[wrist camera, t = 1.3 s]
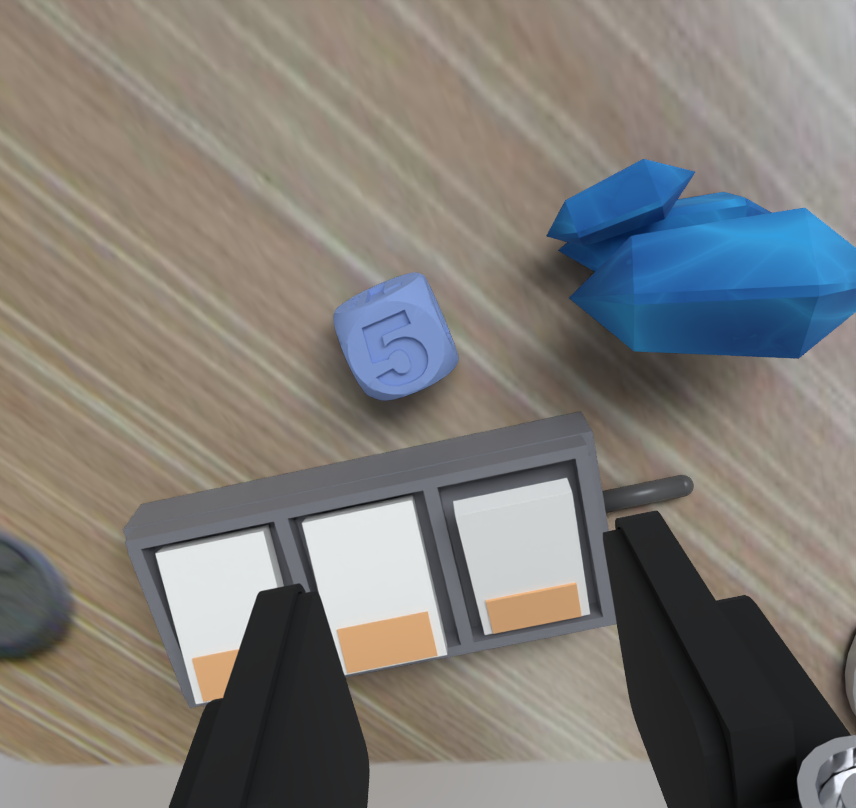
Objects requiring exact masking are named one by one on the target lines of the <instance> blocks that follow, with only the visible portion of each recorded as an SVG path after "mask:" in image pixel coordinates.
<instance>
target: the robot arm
mask: <svg viewBox="0 0 856 808" xmlns="http://www.w3.org/2000/svg"><path fill="white" fill-rule="evenodd" d="M615 528H616V530H612V531H607V532H603V544H604V550H605V556H606V562H607V568H608V574H609V580H610V586H611V592H612V598H613V604H614V610H615V616H616V622H617V628H618V634H619V640H620V646H621V652H622V658H623V664H624V670H625V676H626V682H627V688H628V694H629V699H630V703H631V707H632V711H633V715H634V718H635V721H636V724H637V727H638V730H639V732H640V735H641V738H642V740H643V743H644V746H645V748H646V751H647V754H648V756H649V759H650V762H651V764H652V767H653V770H654V772H655V774H656V777H657V780H658V783H659V785H660V788H661V791H662V793H663V796H664V799H665V801H666V804H667V807H668V808H856V735H852V736H851V735H850V733H849V732H848V730H847V729H846V728H845V726H844V725H843V723H842V722H841V721H840V719H839V718H838V717H837V715H836V714H835V712H834V711H833V710H832V708H831V707H830V705H829V704H828V703H827V701H826V700H825V699H824V697H823V696H822V694H821V693H820V692H819V690H818V689H817V687H816V686H815V685H814V683H813V682H812V681H811V679H810V678H809V676H808V675H807V674H806V672H805V671H804V669H803V668H802V667H801V665H800V664H799V663H798V661H797V660H796V658H795V657H794V656H793V654H792V653H791V651H790V650H789V649H788V647H787V646H786V645H785V643H784V642H783V640H782V639H781V638H780V636H779V635H778V633H777V632H776V631H775V629H774V628H773V627H772V625H771V624H770V622H769V621H768V620H767V618H766V617H765V615H764V614H763V613H762V611H761V610H760V609H759V607H758V606H757V604H756V603H755V602H754V601H753V600H752V599H751V598H750V597H749V596H746V595H743V596H737V597H732V598H727V599H722V600H717V601H716V600H715V599H714V597H713V595H712V594H711V592H710V591H709V589H708V588H707V586H706V584H705V583H704V581H703V580H702V578H701V577H700V575H699V574H698V572H697V570H696V569H695V567H694V566H693V564H692V563H691V561H690V560H689V558H688V556H687V555H686V553H685V552H684V550H683V549H682V547H681V546H680V544H679V542H678V541H677V539H676V538H675V536H674V535H673V533H672V532H671V530H670V528H669V527H668V525H667V524H666V522H665V521H664V519H663V517H662V516H661V514H660V513H659V512H658V511H651V512H646V513H641V514H636V515H631V516H627V517H622V518H617V519H616V520H615ZM845 685H846V694H847V697H848V700H849V703H850V707H851V710H852V711H853V713H854V714H855V716H856V635H855V638H854V640H853V643H852V645H851V648H850V650H849V653H848V658H847V664H846V669H845ZM368 788H369V759H368V752H367V747H366V744H365V740H364V737H363V734H362V730H361V727H360V724H359V721H358V717H357V714H356V711H355V708H354V704H353V701H352V698H351V695H350V691H349V688H348V685H347V682H346V678H345V675H344V672H343V668H342V665H341V662H340V659H339V655H338V652H337V649H336V646H335V642H334V639H333V636H332V633H331V629H330V626H329V623H328V620H327V616H326V613H325V610H324V607H323V603H322V600H321V597H320V595H319V593H318V592H317V591H312V592H307V593H306V591H305V589H304V588H303V586H302V585H301V584H300V583H298V584H293V585H288V586H283V587H278V588H273V589H268V590H263V591H260V592H259V593H258V595H257V597H256V600H255V603H254V606H253V609H252V612H251V615H250V618H249V621H248V624H247V627H246V630H245V633H244V636H243V639H242V642H241V645H240V648H239V651H238V654H237V657H236V660H235V663H234V666H233V669H232V672H231V675H230V678H229V681H228V684H227V687H226V690H225V693H224V695H223V698H219V699H214V700H212V701H210V702H209V703H208V704H207V705H206V707H205V709H204V711H203V713H202V716H201V719H200V722H199V725H198V727H197V730H196V733H195V736H194V738H193V741H192V744H191V747H190V750H189V752H188V755H187V758H186V761H185V763H184V766H183V769H182V772H181V775H180V777H179V780H178V783H177V786H176V788H175V791H174V794H173V797H172V800H171V802H170V805H169V808H367V803H368Z"/></svg>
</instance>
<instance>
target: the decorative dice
mask: <svg viewBox="0 0 856 808" xmlns="http://www.w3.org/2000/svg"><path fill="white" fill-rule="evenodd" d="M333 318H334V325H335V329H336V333H337V336H338V339H339V342H340V345H341V348H342V350H343V353H344V355H345V358H346V360H347V362H348V364H349V366H350V369H351V371H352V372H353V374H354V376H355V378H356V380H357V382H358V383H359V385H360V386H361V388H362V389H363V391H364V392H365V393H366V394H367V395H368V396H370V397H373V398H376V399H378V400H393V399H398V398H401V397H405V396H408V395H410V394H413V393H416V392H418V391H420V390H422V389H425V388H427V387H429V386H430V385H432V384H434V383H436V382H437V381H439V380H441V379H442V378H444V377H445V376H446V375H448V374H449V373H450V372H451V371H452V370H453V369H454V368H455V367H456V365H457V363H458V360H459V357H458V353H457V350H456V347H455V344H454V341H453V339H452V336H451V334H450V331H449V329H448V326H447V324H446V321H445V319H444V316H443V314H442V312H441V309H440V307H439V305H438V302H437V300H436V298H435V296H434V294H433V291H432V289H431V287H430V285H429V283H428V281H427V279H426V278H425V276H424V275H422V274H420V273H409V274H405V275H402V276H399V277H396V278H393V279H390V280H388V281H385V282H383V283H380V284H378V285H376V286H374V287H372V288H369V289H367V290H365V291H363V292H361V293H360V294H358V295H356V296H354V297H352V298H351V299H349V300H347V301H346V302H344V303H343V304H342V305H340V306H339V307H338V308H337V309H336V310H335V313H334V317H333Z"/></svg>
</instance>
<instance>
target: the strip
mask: <svg viewBox="0 0 856 808" xmlns="http://www.w3.org/2000/svg"><path fill="white" fill-rule="evenodd" d="M564 478H567V479H568V482H569V485H570V488H571V490H572V494H573V501H574V508H575V515H576V521H577V528H578V535H579V542H580V549H581V555H582V562H583V569H584V576H585V583H586V589H587V596H588V603H589V610H590V614H589V615H584V616H581V617H576V618H571V619H566V620H561V621H556V622H551V623H546V624H541V625H536V626H531V627H526V628H521V629H516V630H511V631H505V632H500V633H495V634H488V635H485V634H484V630H483V626H482V622H481V618H480V614H479V610H478V606H477V602H476V598H475V594H474V590H473V586H472V582H471V578H470V574H469V570H468V566H467V562H466V558H465V553H464V549H463V545H462V541H461V537H460V533H459V529H458V525H457V521H456V517H455V511H454V504H453V501H457V500H462V499H467V498H472V497H477V496H482V495H486V494H491V493H496V492H501V491H506V490H510V489H515V488H520V487H525V486H530V485H535V484H539V483H544V482H549V481H554V480H559V479H564ZM693 487H694V485H693V481H692V480H691V478H689V477H688V476H686V475H678V476H673V477H668V478H663V479H659V480H654V481H649V482H644V483H639V484H634V485H629V486H625V487H620V488H615V489H610V490H605V491H602V486H601V480H600V474H599V468H598V462H597V456H596V450H595V443H594V437H593V431H592V429H591V428H590V426H589V424H588V423H587V421H586V419H585V418H584V416H583V414H582V412H581V411H580V412H575V413H571V414H566V415H561V416H556V417H552V418H547V419H542V420H538V421H533V422H528V423H523V424H519V425H514V426H509V427H504V428H500V429H495V430H490V431H486V432H481V433H476V434H471V435H467V436H462V437H457V438H452V439H448V440H443V441H438V442H434V443H429V444H424V445H419V446H415V447H410V448H405V449H400V450H396V451H391V452H386V453H382V454H377V455H372V456H367V457H363V458H358V459H353V460H348V461H344V462H339V463H334V464H330V465H325V466H320V467H315V468H311V469H306V470H301V471H296V472H292V473H287V474H282V475H278V476H273V477H268V478H263V479H259V480H254V481H249V482H244V483H240V484H235V485H230V486H226V487H221V488H216V489H211V490H207V491H202V492H197V493H192V494H188V495H183V496H178V497H174V498H169V499H164V500H159V501H155V502H150V503H145V504H141V505H140V507H139V508H138V509H137V511H136V512H135V514H134V515H133V516H132V518H131V519H130V520H129V522H128V523H127V525H126V526H125V527H124V529H123V531H124V534H125V536H126V541H125V543H126V546H127V548H128V554H129V557H130V559H131V562H132V564H133V567H134V569H135V572H136V575H137V577H138V580H139V582H140V585H141V587H142V590H143V593H144V595H145V598H146V600H147V603H148V605H149V608H150V610H151V613H152V616H153V618H154V621H155V623H156V626H157V628H158V631H159V633H160V636H161V639H162V641H163V644H164V646H165V649H166V651H167V654H168V656H169V659H170V662H171V664H172V667H173V669H174V672H175V674H176V677H177V680H178V682H179V685H180V687H181V690H182V692H183V695H184V697H185V699H186V700H187V702H188V705H189V707H190V708H192V707H197V706H202V705H207V704H208V703H209V702H205V703H200V704H196V703H195V699H194V695H193V692H192V688H191V684H190V680H189V677H188V673H187V669H186V666H185V662H184V658H183V654H182V651H181V647H180V643H179V640H178V636H177V632H176V628H175V625H174V621H173V617H172V614H171V610H170V606H169V602H168V599H167V595H166V591H165V588H164V584H163V580H162V576H161V573H160V569H159V565H158V562H157V558H156V554H155V553H157V552H158V551H159V550H160V549H161V548H162V547H164V546H168V545H173V544H178V543H183V542H187V541H192V540H197V539H202V538H207V537H211V536H216V535H221V534H226V533H231V532H235V531H240V530H245V529H250V528H255V527H259V526H264V525H269V528H270V532H271V536H272V540H273V544H274V548H275V552H276V556H277V560H278V564H279V568H280V572H281V576H282V580H283V584H284V586H288V585H293V584H298V583H300V584H301V585H302V586H303V588H304V589H305V591H306V593H307V592H312V591H317V592H318V593H319V591H318V587H317V583H316V579H315V574H314V570H313V566H312V562H311V558H310V554H309V550H308V546H307V542H306V538H305V534H304V530H303V525H302V522H303V521H304V519H305V518H306V517H308V516H312V515H317V514H322V513H327V512H332V511H336V510H341V509H346V508H351V507H356V506H360V505H365V504H370V503H375V502H380V501H384V500H389V499H394V498H399V497H404V496H408V495H413V496H414V500H415V505H416V509H417V513H418V518H419V522H420V527H421V531H422V536H423V540H424V544H425V549H426V553H427V558H428V562H429V566H430V571H431V575H432V580H433V584H434V589H435V593H436V597H437V602H438V606H439V611H440V615H441V619H442V624H443V628H444V633H445V637H446V642H447V655H444V656H439V657H434V658H429V659H424V660H419V661H414V662H409V663H404V664H399V665H394V666H388V667H383V668H378V669H373V670H368V671H363V672H358V673H353V674H348V675H345V677H350V676H355V675H360V674H365V673H370V672H375V671H381V670H386V669H391V668H396V667H401V666H406V665H411V664H416V663H421V662H426V661H431V660H437V659H442V658H447V657H452V656H457V655H462V654H467V653H472V652H477V651H482V650H487V649H493V648H498V647H503V646H508V645H513V644H518V643H523V642H528V641H533V640H538V639H543V638H549V637H554V636H559V635H564V634H569V633H574V632H579V631H584V630H589V629H594V628H599V627H605V626H610V625H615V624H617V622H616V616H615V610H614V604H613V598H612V592H611V586H610V580H609V574H608V568H607V562H606V556H605V550H604V544H603V532H607V531H609V529H608V523H607V517H606V512H610V511H615V510H620V509H625V508H630V507H635V506H640V505H644V504H649V503H654V502H659V501H664V500H669V499H674V498H679V497H684V496H687V495H689V494H690V493H691V492H692V491H693Z"/></svg>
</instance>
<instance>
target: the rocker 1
mask: <svg viewBox="0 0 856 808" xmlns="http://www.w3.org/2000/svg"><path fill="white" fill-rule="evenodd" d="M155 554H156V558H157V562H158V565H159V569H160V573H161V576H162V580H163V584H164V588H165V591H166V595H167V599H168V602H169V606H170V610H171V614H172V617H173V621H174V625H175V628H176V632H177V636H178V640H179V643H180V647H181V651H182V654H183V658H184V662H185V666H186V669H187V673H188V677H189V680H190V684H191V688H192V692H193V695H194V699H195V703H196V704H200V703H205V702H210V701H212V700H214V699H219V698H223V695H224V693H225V690H226V687H227V684H228V681H229V678H230V675H231V672H232V669H233V666H234V663H235V660H236V657H237V654H238V651H239V648H240V645H241V642H242V639H243V636H244V633H245V630H246V627H247V624H248V621H249V618H250V615H251V612H252V609H253V606H254V603H255V600H256V597H257V595H258V593H259V592H260V591H263V590H268V589H273V588H278V587H283V586H284V584H283V580H282V576H281V572H280V568H279V564H278V560H277V556H276V552H275V548H274V544H273V540H272V536H271V532H270V528H269V525H264V526H259V527H255V528H250V529H245V530H240V531H235V532H231V533H226V534H221V535H216V536H211V537H207V538H202V539H197V540H192V541H187V542H183V543H178V544H173V545H168V546H164V547H162V548H161V549H160V550H159V551H158V552H157V553H155Z"/></svg>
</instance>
